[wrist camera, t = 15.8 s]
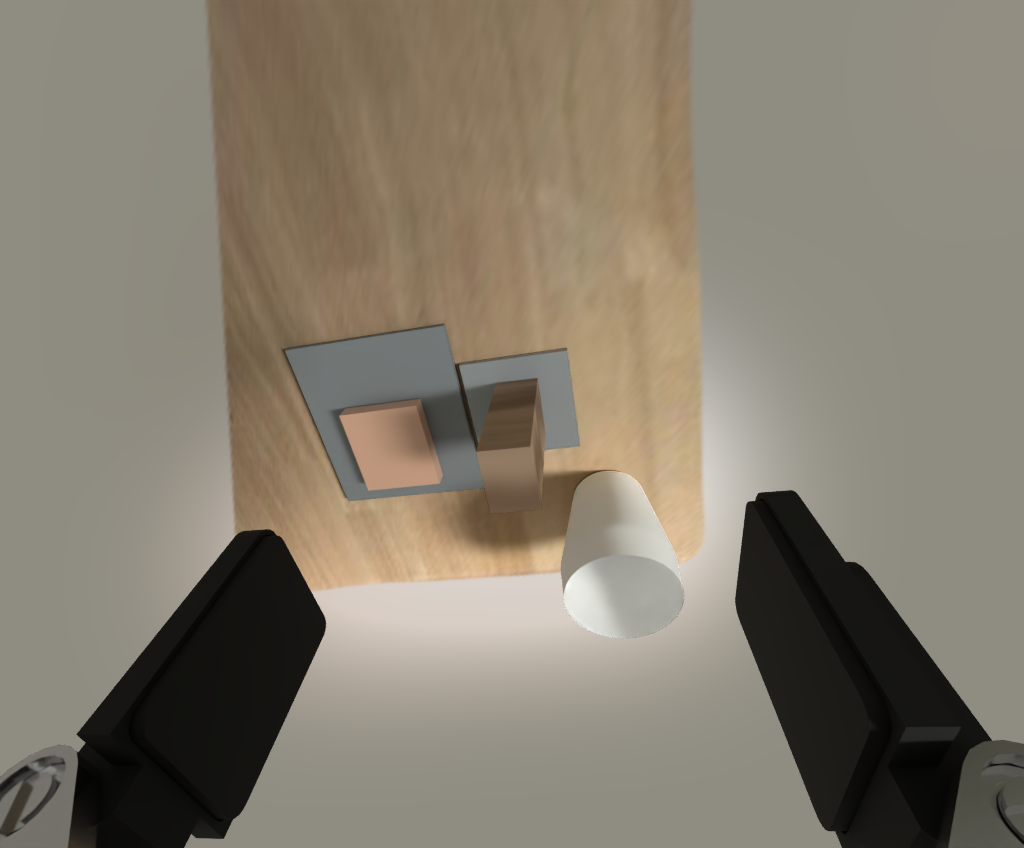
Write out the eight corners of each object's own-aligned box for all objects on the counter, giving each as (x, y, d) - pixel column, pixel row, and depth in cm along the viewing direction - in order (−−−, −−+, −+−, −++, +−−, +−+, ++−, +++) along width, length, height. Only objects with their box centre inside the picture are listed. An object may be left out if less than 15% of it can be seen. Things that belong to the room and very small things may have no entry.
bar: (496, 382, 40) (475, 451, 30) (537, 377, 39) (530, 446, 30) (506, 434, 42) (490, 513, 32) (545, 430, 41) (541, 509, 32)
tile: (339, 415, 41) (368, 490, 44) (416, 405, 40) (439, 483, 43) (346, 407, 42) (374, 480, 46) (420, 397, 41) (443, 473, 45)
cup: (590, 443, 42) (600, 534, 32) (676, 483, 44) (713, 583, 33) (544, 512, 47) (540, 613, 36) (624, 547, 48) (642, 654, 37)
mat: (288, 348, 41) (284, 350, 40) (444, 323, 38) (442, 325, 38) (350, 497, 48) (348, 501, 47) (484, 484, 46) (483, 488, 45)
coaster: (460, 363, 40) (458, 365, 39) (566, 347, 38) (567, 350, 38) (482, 453, 44) (481, 456, 43) (579, 442, 42) (579, 446, 42)
